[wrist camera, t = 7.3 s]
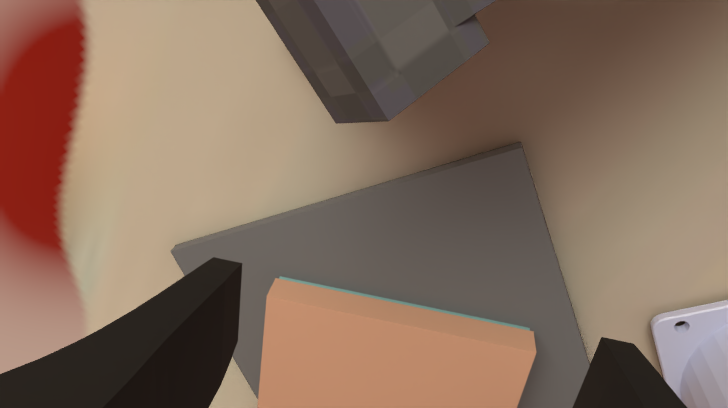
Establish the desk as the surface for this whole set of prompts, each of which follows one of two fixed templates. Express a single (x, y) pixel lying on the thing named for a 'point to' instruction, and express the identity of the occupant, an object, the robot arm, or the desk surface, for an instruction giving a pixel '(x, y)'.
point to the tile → (385, 353)
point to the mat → (420, 260)
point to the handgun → (376, 49)
